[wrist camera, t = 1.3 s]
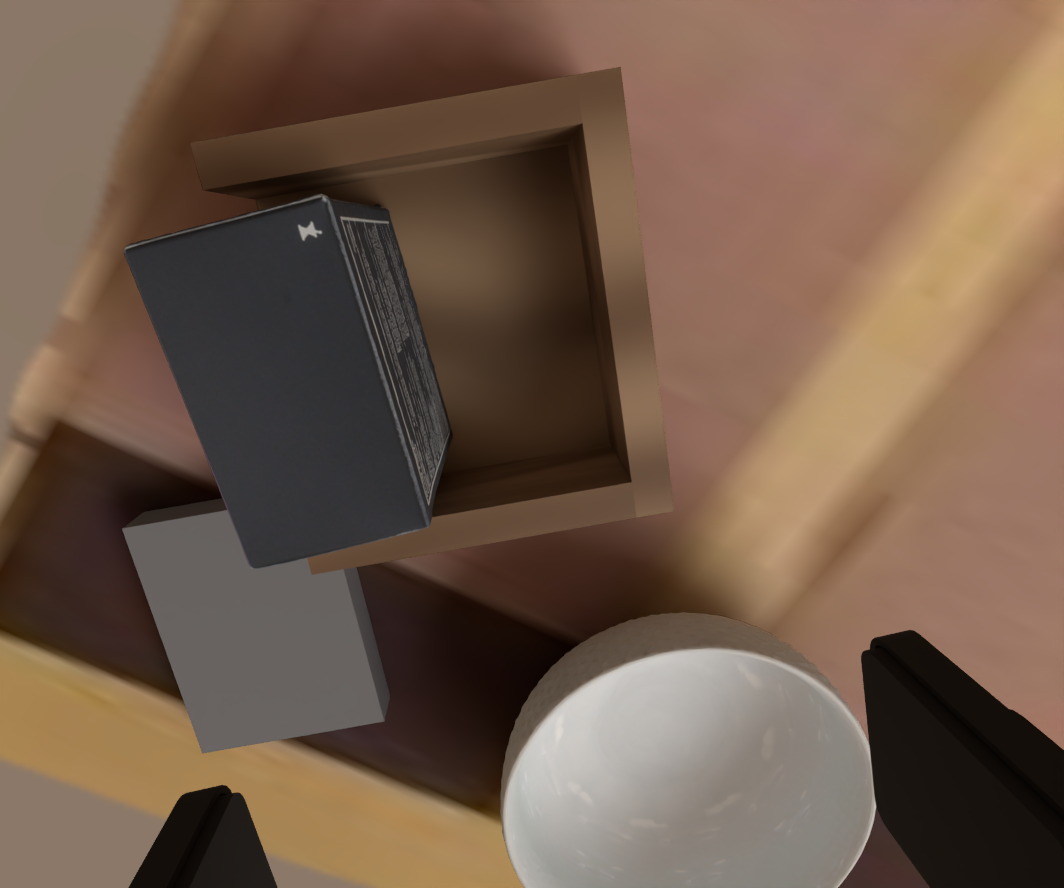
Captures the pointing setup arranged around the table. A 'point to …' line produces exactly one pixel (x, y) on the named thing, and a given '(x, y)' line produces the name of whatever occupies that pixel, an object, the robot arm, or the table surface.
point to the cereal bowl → (685, 764)
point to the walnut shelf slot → (501, 294)
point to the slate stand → (255, 633)
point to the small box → (301, 373)
